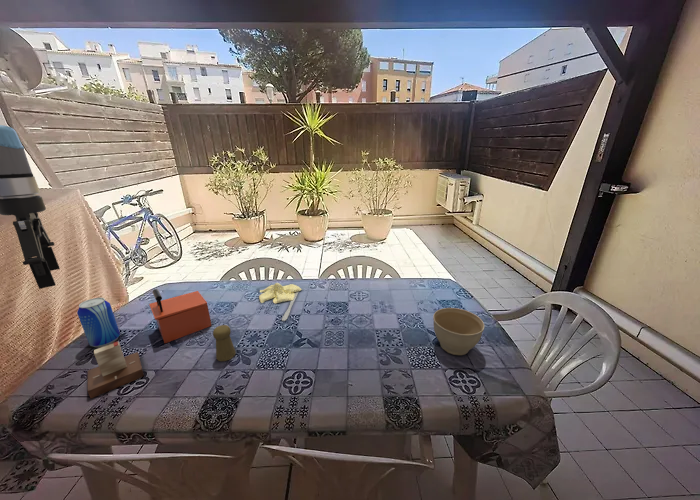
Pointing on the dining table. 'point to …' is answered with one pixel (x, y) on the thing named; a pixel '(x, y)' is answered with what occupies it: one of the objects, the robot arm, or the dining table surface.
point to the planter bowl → (457, 330)
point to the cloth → (279, 293)
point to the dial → (110, 358)
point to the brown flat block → (114, 376)
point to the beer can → (98, 322)
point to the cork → (223, 343)
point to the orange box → (184, 323)
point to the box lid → (175, 304)
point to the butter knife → (289, 307)
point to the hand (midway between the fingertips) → (50, 277)
